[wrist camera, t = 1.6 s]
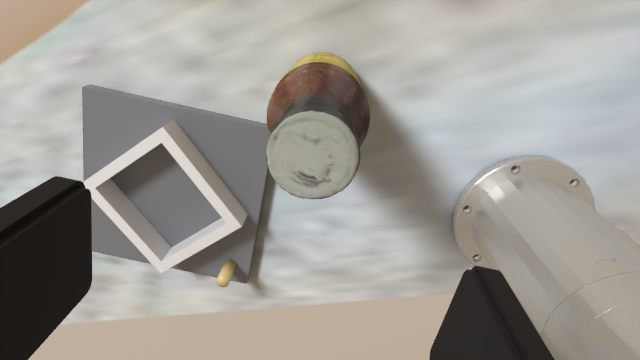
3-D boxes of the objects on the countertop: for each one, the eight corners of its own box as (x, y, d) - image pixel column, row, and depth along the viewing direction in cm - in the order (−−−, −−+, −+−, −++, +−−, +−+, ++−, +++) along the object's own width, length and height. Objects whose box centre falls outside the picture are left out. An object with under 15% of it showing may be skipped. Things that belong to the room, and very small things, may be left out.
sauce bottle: (320, 136, 37) (299, 257, 19) (272, 84, 36) (198, 163, 17) (376, 87, 35) (413, 171, 17) (328, 30, 34) (311, 55, 15)
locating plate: (276, 126, 37) (268, 139, 33) (249, 276, 44) (240, 302, 40) (90, 84, 36) (60, 93, 33) (91, 243, 43) (66, 266, 39)
